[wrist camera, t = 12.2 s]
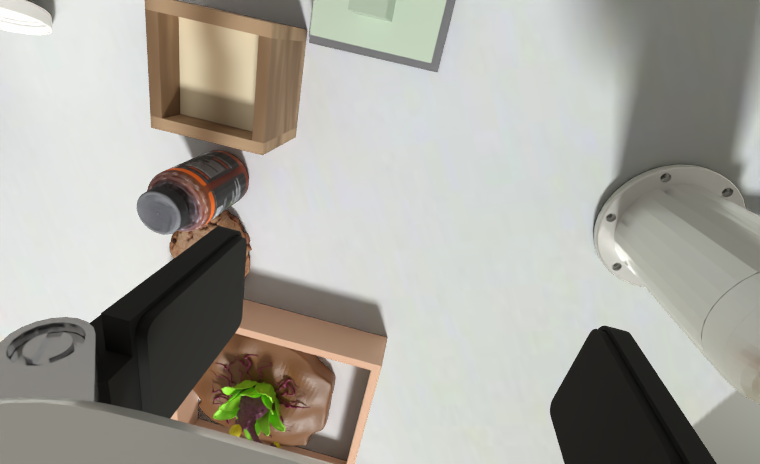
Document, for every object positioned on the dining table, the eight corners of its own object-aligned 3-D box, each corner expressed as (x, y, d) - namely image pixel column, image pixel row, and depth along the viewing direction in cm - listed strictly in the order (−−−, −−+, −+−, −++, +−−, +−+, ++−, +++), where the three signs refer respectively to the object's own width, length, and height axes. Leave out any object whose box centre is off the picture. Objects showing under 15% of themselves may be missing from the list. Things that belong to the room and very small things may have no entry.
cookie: (257, 215, 45) (245, 226, 42) (251, 290, 50) (240, 304, 47) (176, 194, 45) (158, 202, 43) (177, 270, 50) (162, 282, 47)
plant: (356, 361, 52) (334, 436, 42) (311, 447, 60) (284, 526, 50) (216, 301, 51) (160, 362, 41) (190, 396, 60) (139, 466, 50)
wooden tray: (387, 337, 49) (381, 366, 44) (351, 467, 60) (344, 500, 56) (191, 285, 50) (166, 307, 46) (192, 421, 61) (172, 450, 57)
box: (307, 29, 36) (272, 23, 29) (295, 137, 40) (262, 155, 33) (204, 6, 36) (144, -6, 29) (203, 114, 41) (151, 127, 33)
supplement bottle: (195, 147, 42) (116, 176, 32) (247, 150, 42) (183, 181, 31) (204, 199, 45) (133, 241, 35) (253, 203, 44) (196, 247, 34)
